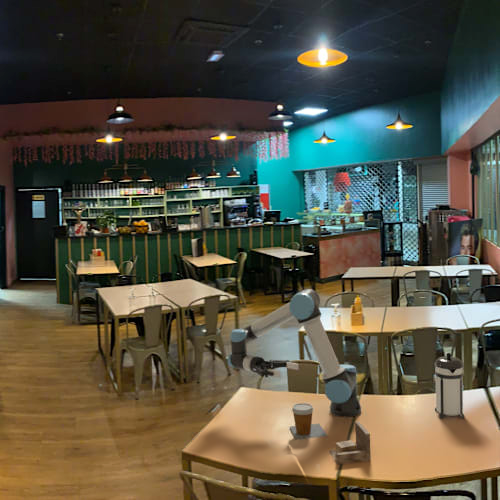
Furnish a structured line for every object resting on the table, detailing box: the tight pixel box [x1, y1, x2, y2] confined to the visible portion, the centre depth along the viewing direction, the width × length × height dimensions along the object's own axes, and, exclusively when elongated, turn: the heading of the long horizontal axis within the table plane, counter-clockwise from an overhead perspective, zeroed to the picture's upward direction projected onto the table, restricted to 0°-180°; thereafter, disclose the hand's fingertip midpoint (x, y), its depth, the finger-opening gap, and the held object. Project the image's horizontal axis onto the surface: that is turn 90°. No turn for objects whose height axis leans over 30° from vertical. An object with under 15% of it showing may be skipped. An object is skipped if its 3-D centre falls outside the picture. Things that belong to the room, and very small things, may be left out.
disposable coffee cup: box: [291, 402, 314, 435], centre depth 247 cm, size 10×10×12 cm
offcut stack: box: [334, 439, 358, 453], centre depth 222 cm, size 8×6×5 cm
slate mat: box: [289, 423, 328, 440], centre depth 249 cm, size 14×14×1 cm
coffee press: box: [434, 352, 465, 420], centre depth 262 cm, size 17×16×30 cm
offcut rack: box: [328, 421, 372, 465], centre depth 222 cm, size 14×13×12 cm
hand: (289, 370), depth 253 cm, fingers open, 13 cm apart
